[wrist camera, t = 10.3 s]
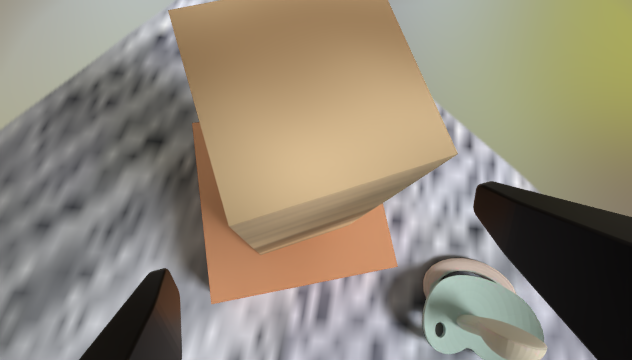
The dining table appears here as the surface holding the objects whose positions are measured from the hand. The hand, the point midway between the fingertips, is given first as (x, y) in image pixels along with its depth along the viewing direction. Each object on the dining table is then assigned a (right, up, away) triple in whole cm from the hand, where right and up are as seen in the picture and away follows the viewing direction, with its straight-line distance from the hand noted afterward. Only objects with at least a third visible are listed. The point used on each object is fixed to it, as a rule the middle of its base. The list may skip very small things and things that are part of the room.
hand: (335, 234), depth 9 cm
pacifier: (+9, -7, +13) cm, 17 cm away
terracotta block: (-2, 0, +13) cm, 14 cm away
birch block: (-2, +1, +9) cm, 10 cm away
